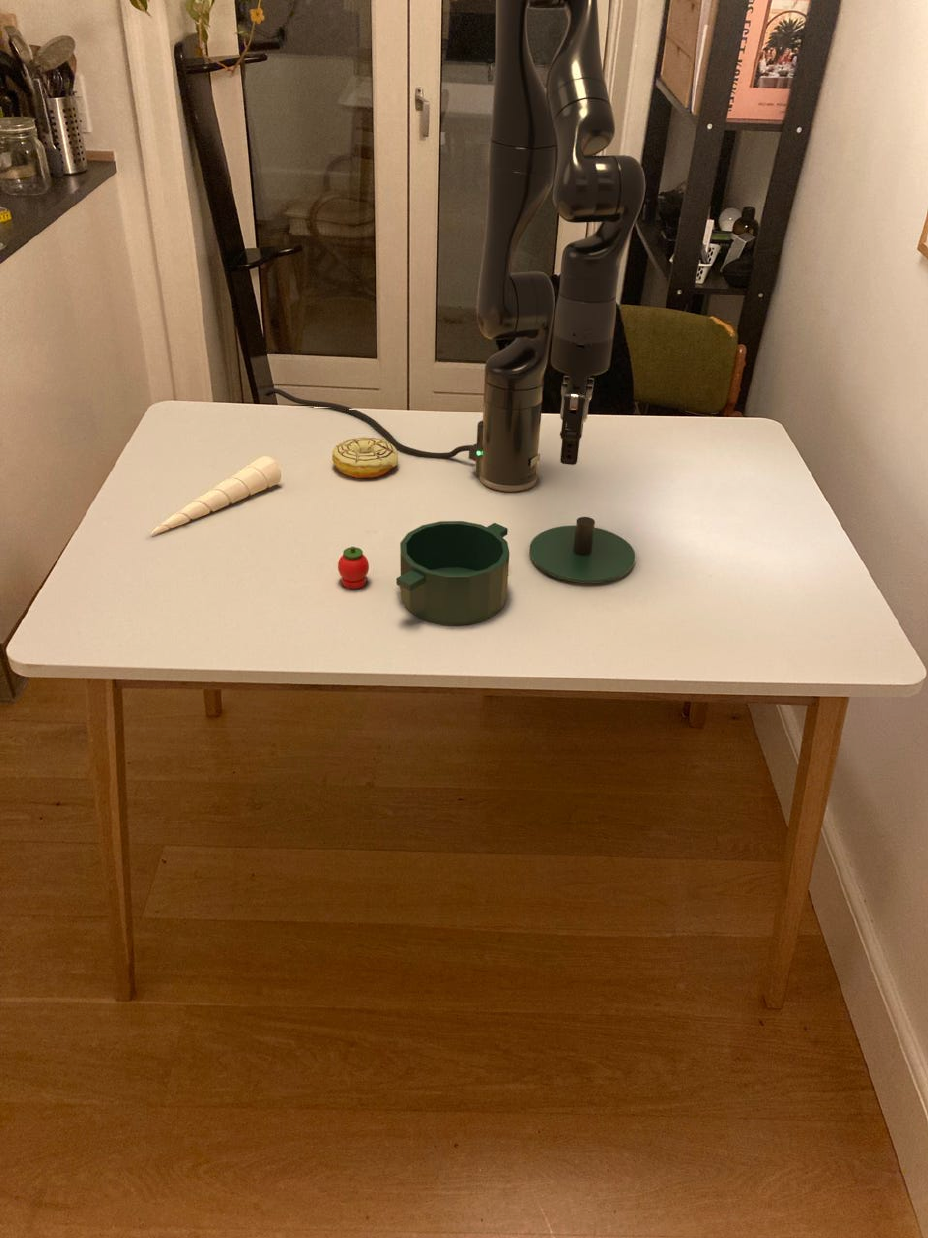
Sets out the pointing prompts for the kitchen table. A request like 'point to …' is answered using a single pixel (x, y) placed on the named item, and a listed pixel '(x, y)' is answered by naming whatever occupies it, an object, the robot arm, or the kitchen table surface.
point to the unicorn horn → (228, 492)
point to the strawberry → (353, 568)
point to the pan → (454, 571)
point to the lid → (582, 553)
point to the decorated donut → (365, 457)
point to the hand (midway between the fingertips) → (571, 449)
